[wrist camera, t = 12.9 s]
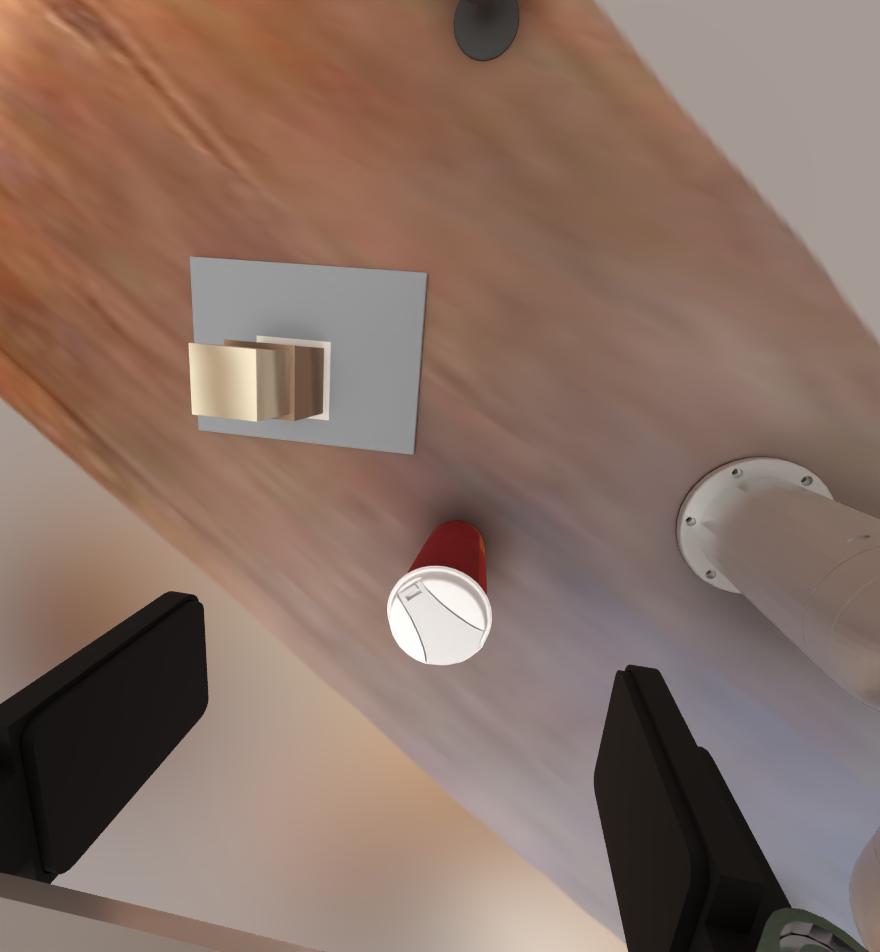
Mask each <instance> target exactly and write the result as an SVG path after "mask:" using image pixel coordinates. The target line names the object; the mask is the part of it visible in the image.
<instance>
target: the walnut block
mask: <svg viewBox="0 0 880 952" xmlns="http://www.w3.org/2000/svg"><path fill="white" fill-rule="evenodd" d="M224 345H229V346H240V347H250V348H261V349H271V350H282V351H290V373H289V414H288V415H284V416H279V417H275V418H271V419H279V420H288V421H297V420H301V419H304V418H308V417H312V416H315V415H319V414H323V381H324V348H316V347H305V346H294V345H283V344H272V343H260V342H249V341H238V340H227V339H224Z"/></svg>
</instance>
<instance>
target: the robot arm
mask: <svg viewBox="0 0 880 952" xmlns="http://www.w3.org/2000/svg"><path fill="white" fill-rule="evenodd" d="M734 469H735V472H734V473H732V472H733V470H734ZM802 478H803V479H802ZM689 517H690V519H689V520H687V521H686V519H687V518H689ZM676 534H677V541H678V546H679V548H680V551H681V554H682V556H683V558H684V559H685V561H686V562H687V564H688V565H689V566H690V567H691V568H692V570H693V571H694V572H695V573H696V574H697V575H698V576H699V577H701V578H702V579H703V580H704V581H706V582H707V583H709V584H711V585H713V586H715V587H717V588H719V589H722V590H725V591H728V592H732V593H739V594H743V595H744V596H745V597H746V598H747V599H748V600H749V601H750V602H751V603H752V604H753V605H754V606H755V607H757V608H758V609H759V610H760V611H761V612H762V613H763V614H764V615H765V616H766V617H767V618H768V619H769V620H770V621H771V622H772V623H773V624H774V625H775V626H776V627H777V628H778V629H779V630H780V631H781V632H782V633H783V634H784V635H786V636H787V637H788V638H789V639H790V640H791V641H792V642H793V643H794V644H795V645H796V646H797V647H798V648H799V649H800V650H801V651H802V652H803V653H804V654H805V655H806V656H807V657H808V658H809V659H810V660H811V661H812V662H813V663H815V664H816V665H817V666H818V667H819V668H820V669H821V670H822V671H823V672H824V673H825V674H826V675H827V676H829V677H830V678H831V679H832V680H833V681H834V682H835V683H836V684H837V685H838V686H839V687H841V688H842V689H843V690H844V691H845V692H847V693H848V694H849V695H851V696H852V697H854V698H855V699H857V700H858V701H860V702H862V703H863V704H865V705H867V706H869V707H871V708H873V709H875V710H877V711H880V519H878V518H875V517H873V516H870V515H868V514H866V513H863V512H861V511H858V510H856V509H854V508H851V507H849V506H846V505H844V504H841V503H839V502H837V501H834V499H833V496H832V495H831V493H830V491H829V490H828V488H827V486H826V485H825V484H824V483H823V482H822V481H821V480H820V479H819V478H818V477H817V476H816V475H815V474H813V473H812V472H810V471H809V470H807V469H806V468H804V467H802V466H799V465H797V464H794V463H792V462H789V461H785V460H782V459H778V458H769V457H754V458H745V459H741V460H737V461H733V462H731V463H728V464H726V465H723V466H721V467H719V468H717V469H716V470H714V471H712V472H711V473H709V474H708V475H706V476H705V477H704V478H703V479H702V480H700V481H699V482H698V483H697V484H696V485H695V486H694V487H693V489H692V490H691V491H690V493H689V494H688V495H687V497H686V499H685V500H684V502H683V504H682V506H681V508H680V512H679V515H678V519H677V529H676ZM707 571H708V572H707ZM207 704H208V681H207V663H206V642H205V625H204V608H203V605H202V604H201V603H200V602H199V601H198V598H197V597H196V596H195V595H192V594H186V593H180V592H174V591H171V592H170V591H169V592H167V593H165V594H163V595H162V596H160V597H159V598H157V599H156V600H154V601H153V602H151V603H150V604H148V605H147V606H145V607H144V608H142V609H141V610H139V611H138V612H136V613H135V614H133V615H132V616H131V617H129V618H128V619H126V620H124V621H123V622H122V623H120V624H118V625H117V626H116V627H114V628H113V629H111V630H110V631H108V632H107V633H106V634H104V635H102V636H101V637H99V638H98V639H96V640H95V641H93V642H92V643H90V644H89V645H87V646H86V647H84V648H83V649H81V650H80V651H78V652H77V653H75V654H74V655H72V656H71V657H70V658H68V659H67V660H65V661H64V662H62V663H61V664H59V665H58V666H56V667H55V668H53V669H52V670H50V671H49V672H47V673H46V674H44V675H43V676H41V677H40V678H38V679H37V680H36V681H34V682H33V683H31V684H30V685H28V686H26V687H25V688H24V689H22V690H21V691H19V692H18V693H16V694H15V695H13V696H12V697H10V698H9V699H7V700H6V701H4V702H3V703H1V704H0V952H324V951H320V950H316V949H312V948H307V947H304V946H300V945H296V944H291V943H288V942H284V941H279V940H275V939H272V938H267V937H264V936H260V935H256V934H252V933H248V932H244V931H240V930H235V929H232V928H228V927H224V926H219V925H215V924H211V923H207V922H203V921H199V920H195V919H191V918H187V917H183V916H179V915H175V914H171V913H167V912H163V911H159V910H155V909H151V908H147V907H142V906H138V905H134V904H130V903H126V902H122V901H118V900H113V899H109V898H105V897H101V896H97V895H93V894H88V893H84V892H80V891H76V890H72V889H68V888H64V887H59V886H55V885H51V882H52V881H53V880H54V879H55V878H56V877H57V876H58V874H63V873H65V872H66V871H68V870H69V869H70V868H71V867H72V866H73V865H74V864H75V863H76V862H77V861H78V860H79V859H80V858H81V856H82V855H83V854H84V853H85V852H86V851H87V849H88V848H89V847H90V846H91V845H92V844H93V842H94V841H95V840H96V839H97V838H98V836H99V835H100V834H101V833H102V832H103V831H104V830H105V828H106V827H107V826H108V825H109V824H110V823H111V821H112V820H113V819H114V818H115V817H116V816H117V814H118V813H119V812H120V811H121V810H122V809H123V808H124V806H125V805H126V804H127V803H128V802H129V801H130V799H131V798H132V797H133V796H134V794H136V792H137V791H138V790H139V789H140V788H141V787H142V785H143V784H144V783H145V782H146V781H147V780H148V778H149V777H150V776H151V775H152V774H153V773H154V772H155V770H156V769H157V768H158V767H159V766H160V764H161V763H162V762H163V761H164V760H165V759H166V758H167V756H168V755H169V754H170V753H171V751H173V749H174V748H175V747H176V746H177V745H178V744H179V742H180V741H181V740H182V739H183V738H184V737H185V735H186V734H187V733H188V732H189V731H190V729H191V728H192V727H193V726H194V725H195V724H196V723H197V722H198V720H199V719H200V718H201V717H202V715H203V714H204V712H205V710H206V707H207ZM594 790H595V796H596V801H597V805H598V810H599V815H600V820H601V824H602V829H603V834H604V839H605V843H606V848H607V853H608V858H609V862H610V867H611V872H612V877H613V881H614V886H615V891H616V896H617V900H618V905H619V910H620V915H621V919H622V924H623V929H624V934H625V938H626V943H627V948H628V952H880V827H879V828H878V829H877V830H876V832H875V834H874V836H873V837H872V838H871V840H870V841H869V842H868V844H867V845H866V847H865V848H864V850H863V852H862V853H861V855H860V856H859V858H858V860H857V861H856V864H855V866H854V869H853V872H852V875H851V880H850V905H851V910H852V914H853V918H854V921H855V924H856V927H857V930H858V932H859V934H860V936H861V938H862V941H863V943H864V945H865V947H866V949H867V950H866V949H865V948H864V947H863V946H862V945H860V944H859V943H858V942H857V941H856V940H855V939H853V938H852V937H851V936H850V935H849V934H848V933H846V932H845V931H844V930H842V929H840V928H839V927H837V926H836V925H834V924H832V923H831V922H829V921H828V920H826V919H825V918H823V917H820V916H818V915H815V914H813V913H811V912H808V911H806V910H803V909H795V908H792V907H791V906H790V904H789V902H788V900H787V898H786V896H785V894H784V892H783V890H782V889H781V887H780V885H779V883H778V881H777V879H776V877H775V875H774V873H773V871H772V870H771V868H770V866H769V864H768V862H767V860H766V858H765V856H764V854H763V853H762V851H761V849H760V847H759V845H758V843H757V841H756V839H755V837H754V836H753V834H752V832H751V830H750V828H749V826H748V824H747V822H746V820H745V818H744V817H743V815H742V813H741V811H740V809H739V807H738V805H737V803H736V801H735V800H734V798H733V796H732V794H731V792H730V790H729V788H728V786H727V784H726V783H725V781H724V779H723V777H722V775H721V773H720V771H719V769H718V767H717V765H716V764H715V762H714V760H713V758H712V757H711V755H710V754H709V752H708V751H707V750H706V749H704V748H703V747H699V746H697V744H696V742H695V740H694V738H693V736H692V734H691V732H690V730H689V728H688V726H687V724H686V722H685V721H684V719H683V717H682V715H681V713H680V711H679V709H678V707H677V705H676V703H675V701H674V699H673V697H672V695H671V693H670V691H669V689H668V687H667V685H666V683H665V681H664V679H663V677H662V675H661V673H660V672H659V670H657V669H654V668H648V667H642V666H635V665H627V667H626V669H625V671H621V670H618V671H617V673H616V676H615V680H614V684H613V689H612V694H611V698H610V703H609V707H608V712H607V717H606V721H605V726H604V730H603V735H602V739H601V744H600V749H599V753H598V758H597V762H596V767H595V772H594Z"/></svg>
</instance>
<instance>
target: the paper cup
mask: <svg viewBox="0 0 880 952" xmlns="http://www.w3.org/2000/svg"><path fill="white" fill-rule="evenodd" d="M387 613H388V620H389V623H390V628H391V631H392V634H393V636H394V638H395V640H396V642H397V643H398V645H399V646H400V647H401V648H402V649H403V650H404V651H405V652H406V653H407V654H408V655H409V656H411V657H413V658H414V659H416V660H418V661H420V662H422V663H427V664H434V665H450V664H454V663H459V662H462V661H464V660H466V659H468V658H470V657H471V656H472V655H474V654H475V653H476V652H477V651H479V650H480V649H481V648H482V647H483V644H484V642H485V640H486V638H487V636H488V634H489V631H490V628H491V623H492V611H491V606H490V603H489V600H488V598H487V583H486V558H485V546H484V541H483V538H482V536H481V534H480V533H479V532H478V530H477V529H476V528H475V527H473V526H472V525H470V524H468V523H466V522H463V521H449V522H445V523H443V524H441V525H440V526H439V527H437V528H436V529H435V530H434V532H433V533H432V534H431V536H430V537H429V539H428V540H427V542H426V543H425V545H424V547H423V548H422V550H421V551H420V553H419V555H418V556H417V558H416V560H415V561H414V563H413V564H412V566H411V568H410V569H409V571H408V573H407V574H406V575H405V576H403V577H402V578H401V579H400V580H399V581H398V582H397V583H396V585H395V586H394V588H393V589H392V591H391V594H390V596H389V600H388V606H387Z"/></svg>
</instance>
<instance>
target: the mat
mask: <svg viewBox="0 0 880 952" xmlns="http://www.w3.org/2000/svg"><path fill="white" fill-rule="evenodd" d="M190 267H191V287H192V307H193V327H194V343H200V344H214V345H224V339H227V340H238V341H249V342H260V343H272V344H283V345H294V346H305V347H316V348H324V381H323V414H319V415H315V416H312V417H308V418H304V419H301V420H297V421H288V420H279V419H266V420H262V421H258V422H255V421H247V420H238V419H229V418H221V417H212V416H203V415H198V427H199V430H203V431H212V432H221V433H229V434H238V435H247V436H255V437H264V438H273V439H281V440H290V441H299V442H307V443H316V444H325V445H333V446H342V447H351V448H359V449H368V450H377V451H385V452H394V453H403V454H411V455H414V454H415V442H416V428H417V415H418V401H419V388H420V374H421V361H422V347H423V334H424V320H425V307H426V293H427V280H428V274H427V273H422V272H407V271H393V270H378V269H363V268H349V267H334V266H320V265H305V264H290V263H276V262H261V261H246V260H232V259H217V258H202V257H190Z"/></svg>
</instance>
